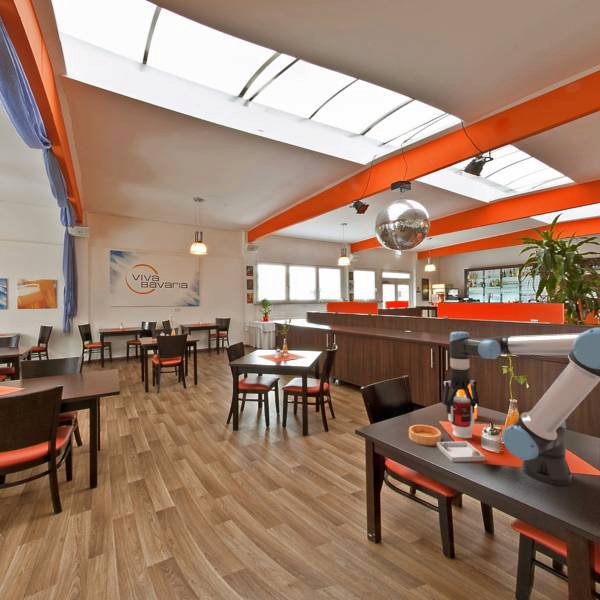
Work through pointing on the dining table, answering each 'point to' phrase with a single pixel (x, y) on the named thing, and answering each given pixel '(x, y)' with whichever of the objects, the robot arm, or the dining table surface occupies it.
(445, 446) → the pebble
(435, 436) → the bowl
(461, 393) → the orange juice
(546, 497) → the dining table surface
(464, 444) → the tray
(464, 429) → the jar
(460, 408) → the canned food
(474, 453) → the pebble
